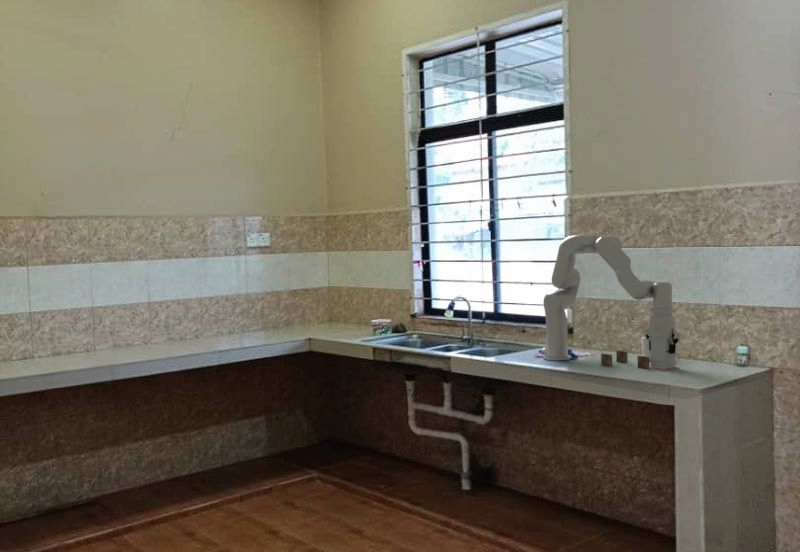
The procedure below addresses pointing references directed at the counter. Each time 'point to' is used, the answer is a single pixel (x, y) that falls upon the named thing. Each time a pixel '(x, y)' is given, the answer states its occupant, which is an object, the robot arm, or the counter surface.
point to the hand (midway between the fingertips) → (662, 352)
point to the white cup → (645, 347)
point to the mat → (664, 369)
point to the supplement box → (662, 354)
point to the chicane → (624, 359)
